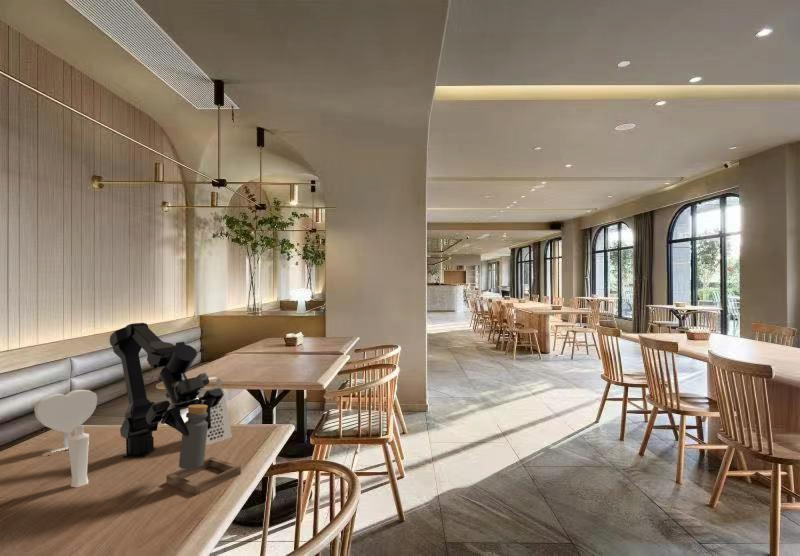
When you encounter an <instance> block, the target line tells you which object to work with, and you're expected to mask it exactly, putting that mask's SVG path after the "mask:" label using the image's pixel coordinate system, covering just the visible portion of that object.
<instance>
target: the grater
mask: <svg viewBox="0 0 800 556" xmlns="http://www.w3.org/2000/svg"><path fill="white" fill-rule="evenodd" d="M208 378H209V381H210V380H216V387H211V388H207V389H200V390H199V392H200V393H199V395H197V396H196V397H197V398H199V397H203V396H204V394H205V393H206V391H208V390H212V389H216V388H220V389H221V390H222V392H223V394H224V395H223V397H222V398H221V400H220V401H219V403H218V405H217V406H215V407H212V408H211V410H210V415H211V428H210V429H207V438H206V446H208V445H212V444H215V443H218V442H221V441H224V439H225V440H227V439H231V438H232V437H233V434H232V430H231V429H232V428H231V424H230V418H229V411H228V406H227V400H226V394H225V390H223V387H222V386H223V385H222V379H220V377H217V376H210V377H208ZM210 432H211V433H210ZM219 432H220V433H219ZM222 432H223V433H222ZM212 434H213V435H212ZM221 435H222V436H221ZM218 436H219V437H218ZM214 437H215V438H214Z"/></svg>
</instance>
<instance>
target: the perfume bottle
mask: <svg viewBox="0 0 800 556" xmlns="http://www.w3.org/2000/svg"><path fill="white" fill-rule="evenodd" d="M84 427H85V425H83V424H82V425H80V426H77V427H74V435H72V437H71V438H69V439H68V446H69V451H68V453H69V455H68V456H69V463H70V472H71V483H70V487H71V488H72V487H73V488H75V489H77V488H81V487H83V486H86V485H88V484H89V478H88V462H89V458H88V457H89V446H90V445H89V441H90V434H89V433H85V432H84Z"/></svg>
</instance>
